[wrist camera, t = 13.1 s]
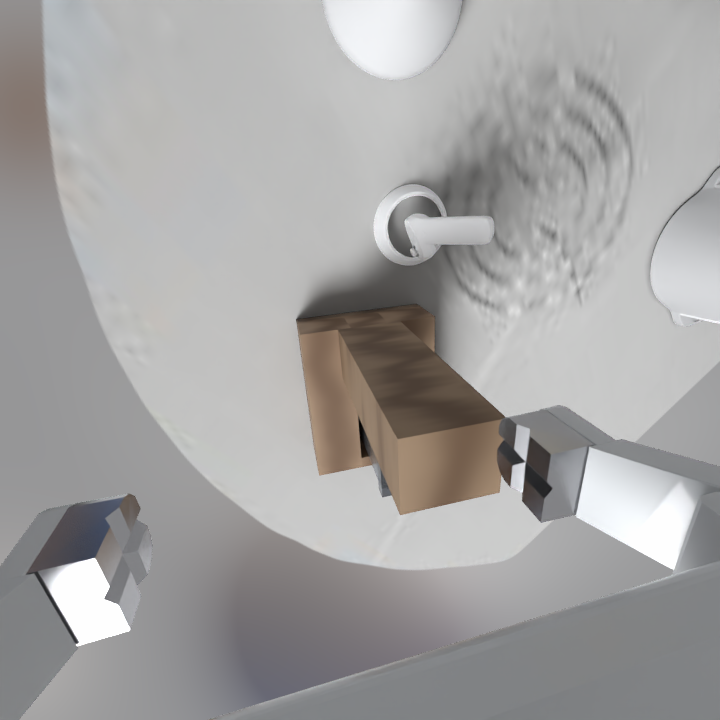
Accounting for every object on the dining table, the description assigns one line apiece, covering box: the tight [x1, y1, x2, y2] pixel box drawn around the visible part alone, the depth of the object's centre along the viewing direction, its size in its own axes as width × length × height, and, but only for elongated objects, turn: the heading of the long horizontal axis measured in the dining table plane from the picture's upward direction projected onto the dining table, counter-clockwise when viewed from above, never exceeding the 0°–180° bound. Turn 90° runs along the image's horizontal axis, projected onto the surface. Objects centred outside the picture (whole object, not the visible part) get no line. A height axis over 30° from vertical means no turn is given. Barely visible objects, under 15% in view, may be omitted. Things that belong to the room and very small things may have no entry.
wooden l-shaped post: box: [296, 304, 506, 515], centre depth 33 cm, size 13×16×23 cm
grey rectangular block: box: [358, 416, 392, 497], centre depth 39 cm, size 2×8×10 cm, turn 5°
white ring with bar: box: [374, 184, 494, 265], centre depth 36 cm, size 8×12×7 cm
